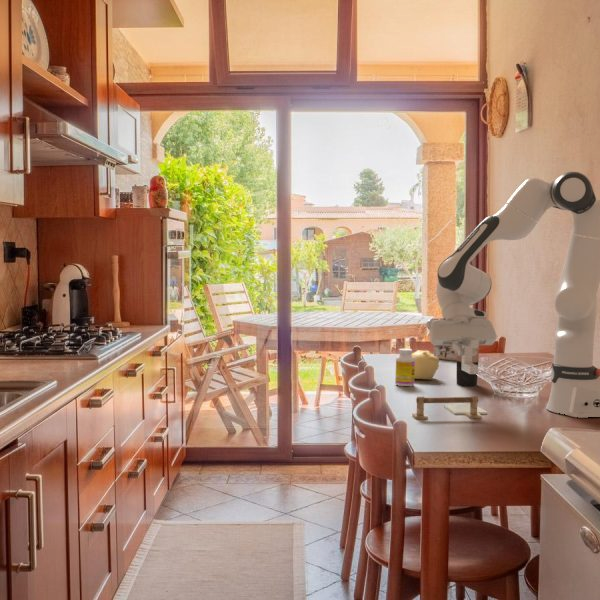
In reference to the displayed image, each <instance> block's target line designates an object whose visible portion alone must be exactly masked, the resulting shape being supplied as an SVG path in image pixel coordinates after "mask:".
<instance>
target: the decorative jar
mask: <svg viewBox="0 0 600 600" xmlns="http://www.w3.org/2000/svg"><path fill="white" fill-rule="evenodd" d="M433 355H434V356H436V357H437V358H438V359H439V360H445V361H454V362H455V361H456V362H457V351H456V350H455V349H453V348H452V345H433Z"/></svg>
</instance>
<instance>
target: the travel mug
mask: <svg viewBox="0 0 600 600" xmlns="http://www.w3.org/2000/svg"><path fill="white" fill-rule="evenodd" d="M459 347H460V348H462V345H459ZM479 349H480V347H479V348H476V351H477V354H476V356H472V363H473V364H475V365H477V366H478V367H479V358H480V357H479V353H480V350H479ZM461 366H462V356H458V353H457V361H456V386H457V385H458V386H460V387H476V386H477V385H478V376H477V375H476V374H469V373H467V372H465V371H463V370H461Z"/></svg>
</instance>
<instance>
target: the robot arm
mask: <svg viewBox="0 0 600 600" xmlns="http://www.w3.org/2000/svg"><path fill="white" fill-rule="evenodd" d="M551 208H555V209H559V210H562V211H569V212H570V213H571V214H572V217H573V221H572V222H573V223H572V227H571V232H570V237H569V241H568V247H567V251H566V255H565V259H564V263H563V266H562V270H561V273H560V277H559V280H558V284H557V287H556V290H555V291H556V292H555V295H554V300H553V305H554V306H553V307H554V308H555V311H556V313H557V319H556V328H555V336H554V349H553V351H554V353H553V363H552V366H551V371H550V373H551V374H550V375H551V376H550V377H551V389H550V394H549V397H548V401H547V404H546V407H545V409H546V410H548V411H550V412H552V413H556V414H559V413H560V414H561V415H564V414H565V415H566V416H569V417H573V418H577V417H578V419H579V418H581V419H584V418H587V419H588V417H600V378H599V377H600V368H597V367H596V366H594V365H593V363H594V362H593V361H594V345H595V344H594V341H595V331H596V329H595V328H596V316H597V308H598V307H597V304H598V297H597V296H598V289H599V286H600V199H597V197H596V195H595V191H594V189H593V185H592V183H591V181H590V179H589V177H587V176H586V175H585V174H583V173H581V172H579V171H567V172H564V173H562V174H561V175H560V176H557V178H555V180H553V181H551V182H547V181H544V180H542V179H540V178H536V177H530V178H527V179H526V180H524V182H522V183H521V184H520V185H519V187H518V188H517V189H516V190H515V191H514V192H513V193H512V194H511V196H510V197H509V199H508V200H507V201H506V203H505V204H504V206H502V208H501V209H500V210H498V211H497V212H496V213H495V214H493V215H489V216H487V217H485V218H484V219H483V220H482V221H481V222H479V224H478V225H477V226H476V227H475V228H474V229H473V230H472V231H471V233H469V235H468V236H467V237H466V238H465V239H464V241H462V243H461V244H460V245H459V246H458V247H457V248H456V250H454V251H453V252H452V253H451V254H450V255H449V256H447V257H446V258H445V259H444V260H443V261H442V262H441V264H439V266H438V268H437V275H436V276H437V283H436V295H437V296H436V297H437V302H438V305H439V306H440V308H441V316H442V318H430V319H428V320H427V321H426V326H427V329H428V331H429V333H428V334H429V342H430V343H431V345H432V346H434V345H452V348H453V349H455V350H456V351H457V353H458V356H464V349H463V348H460V347H459V345H462V337H472V338H474V339H477V340H479V346H493V345H494V344H495V342H496V340H497V336H498V335H497V332H496V330H495V328H494V325H493V323H492V322H491V321H490V320H489V319H488V317H489V316H488V313H487V312H486V311H484V310H479V309H476V308H473V307H470V306H473V305H475V304H477V303H479V302H481V301H482V300H484V299H485V298H486V297H488V296H489V294H490V292H491V289H492V278H491V276H490V275H489V274H488V273H486V272H485V271H483V270H481V269H479V268H477V267H475V266H473V265H471V261H473V260H474V258H475V257H476V256H477V255H478V254H479V253H480V252H481V251H482V250H483V248H484V247H485V246H486V245H487V244H489V243H490V242H493V241H499V240H503V241H505V240H506V241H517V240H522V239H524V238H526V237H527V236H528V235H529V234H531V232H532V231H533V230H534V228H536V226H537V224H538V222H539V221H540V219H541V218H542V217H543V215H544V214H545V213H546V212H547V211H548V210H549V209H551ZM476 354H477V351H476V348H473V350H472V356H476ZM560 414H559V415H560Z"/></svg>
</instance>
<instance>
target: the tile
mask: <svg viewBox="0 0 600 600" xmlns="http://www.w3.org/2000/svg"><path fill="white" fill-rule="evenodd" d="M443 408H445V410H447V409H448V410H447V411H449V412H450V413H452V414H454V415H457V416H458V415H465V413H470V404H443ZM477 413H479V414H480V415H488V411H486V410H485V409H483V408H482V407H481V406H480V407H479V406H478V405H477Z"/></svg>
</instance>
